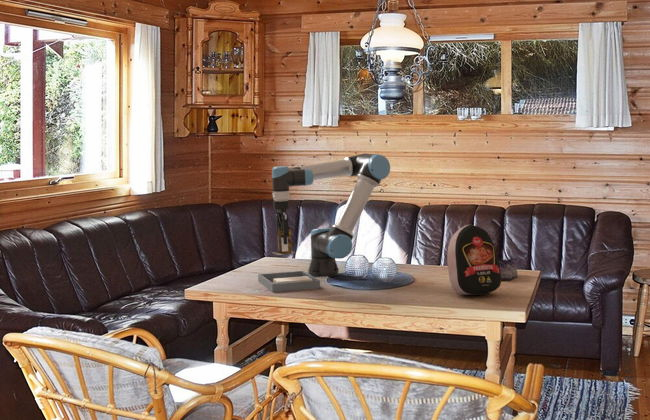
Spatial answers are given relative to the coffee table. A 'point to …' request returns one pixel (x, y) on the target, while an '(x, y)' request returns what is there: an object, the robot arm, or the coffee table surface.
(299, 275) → the gray tray
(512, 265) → the geode
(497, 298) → the coffee table surface
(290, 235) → the condiment
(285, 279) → the cream rectangular block
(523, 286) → the coffee table surface
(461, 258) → the packaged food
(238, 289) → the coffee table surface
